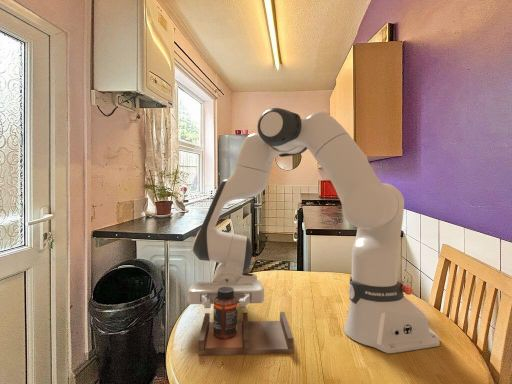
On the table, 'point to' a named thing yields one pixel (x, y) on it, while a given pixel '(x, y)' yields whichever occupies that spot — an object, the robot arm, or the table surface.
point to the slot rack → (247, 338)
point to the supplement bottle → (225, 313)
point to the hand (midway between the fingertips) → (225, 304)
